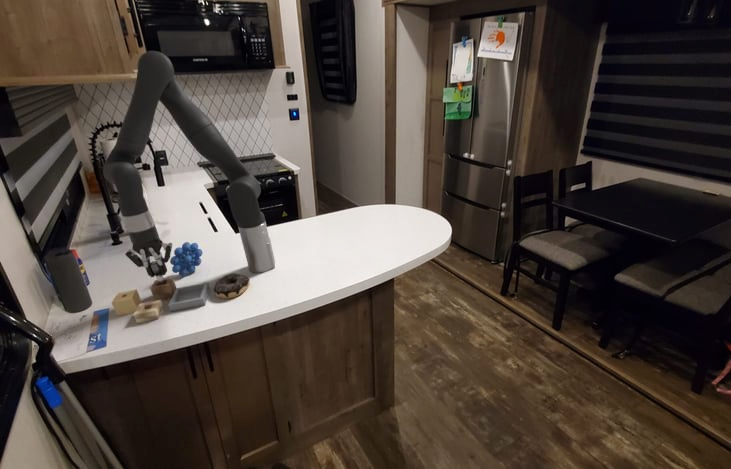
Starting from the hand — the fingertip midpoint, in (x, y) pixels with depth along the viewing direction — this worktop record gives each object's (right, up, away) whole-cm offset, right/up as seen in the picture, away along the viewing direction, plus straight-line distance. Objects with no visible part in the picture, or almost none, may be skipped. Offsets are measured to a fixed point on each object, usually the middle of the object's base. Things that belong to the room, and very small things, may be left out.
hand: (158, 274), depth 120 cm
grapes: (+3, -1, +16) cm, 17 cm away
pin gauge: (0, -4, +2) cm, 5 cm away
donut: (+23, -6, +3) cm, 24 cm away
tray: (+11, -8, -1) cm, 14 cm away
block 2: (+1, -7, +3) cm, 8 cm away
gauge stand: (+1, -12, -7) cm, 13 cm away
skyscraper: (-38, +15, +61) cm, 73 cm away
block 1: (-8, -11, -2) cm, 13 cm away
